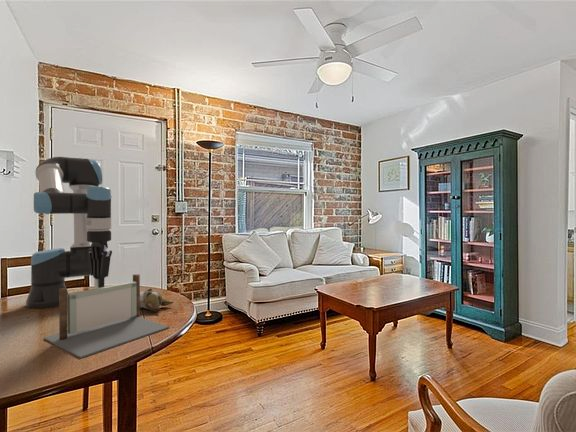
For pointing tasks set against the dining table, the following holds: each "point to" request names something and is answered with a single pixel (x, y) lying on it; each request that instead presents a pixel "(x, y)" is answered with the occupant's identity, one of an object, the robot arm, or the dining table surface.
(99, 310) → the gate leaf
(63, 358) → the dining table surface
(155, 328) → the mat
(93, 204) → the robot arm
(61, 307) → the gate posts
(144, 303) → the ceramic sculpture
